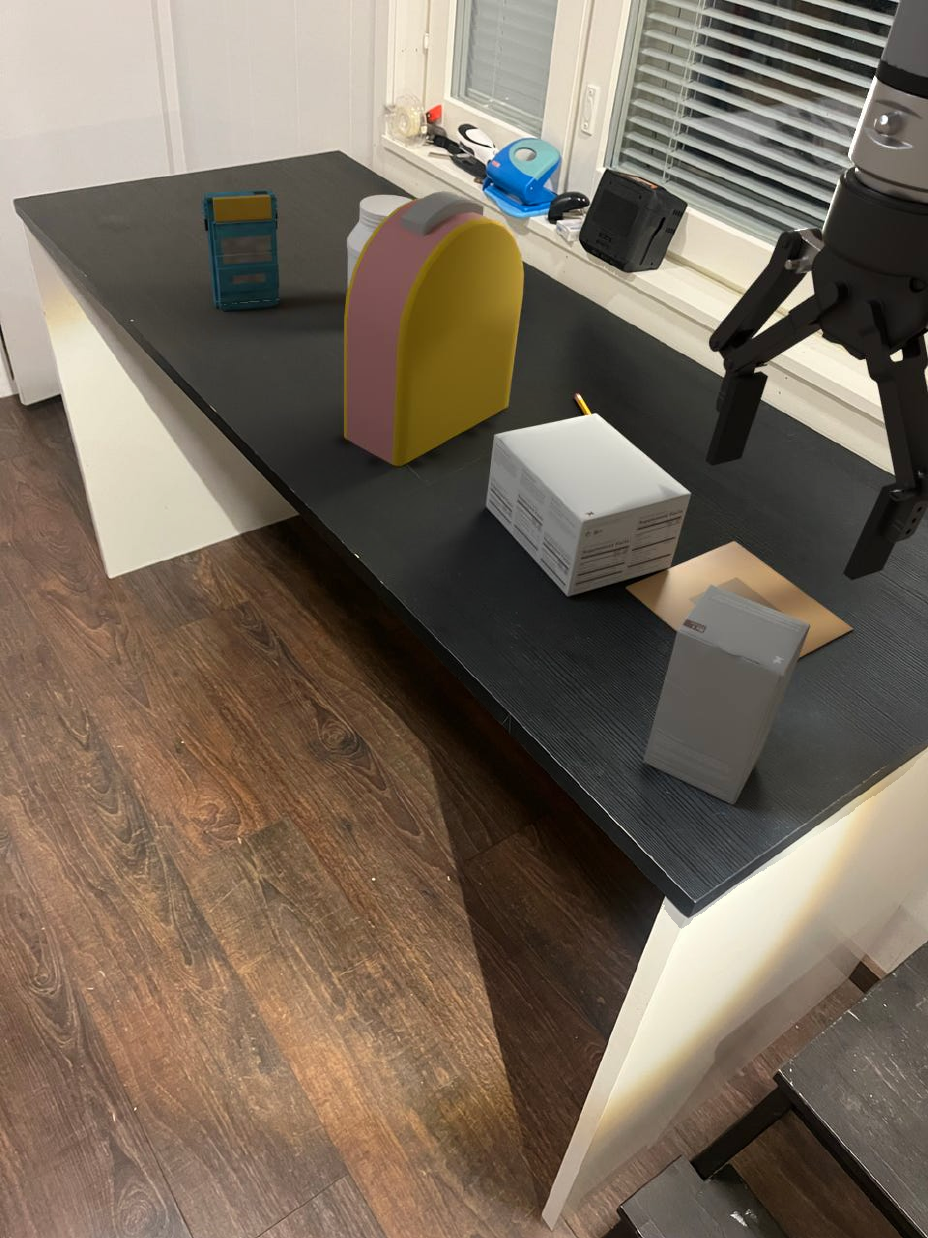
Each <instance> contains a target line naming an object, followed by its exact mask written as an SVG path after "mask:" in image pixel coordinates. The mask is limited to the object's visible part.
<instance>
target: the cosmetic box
mask: <svg viewBox="0 0 928 1238" xmlns="http://www.w3.org/2000/svg"><path fill="white" fill-rule="evenodd" d="M809 629H810V624H809V623H806V622H804V621H801V620H799V619H796V618H793V617H791V616H788V615H786V614H783V613H781V612H778V611H776V610H773V609H771V608H768V607H766V606H763V605H761V604H758V603H756V602H753V601H751V600H749V599H746V598H743V597H741V596H738V595H736V594H734V593H731V592H729V591H726V590H724V589H721V588H719V587H716V586H714V585H712V584H710V585H709V587H708V588H707V589H706V591H705V592H704V593H703V595H702V596H701V597H700V599H699V600H698V602H697V603H696V604H695V606H694V607H693V609H692V610H691V611H690V613H689V614H688V615H687V617H686V618H685V620H684V621H683V623H682V624H681V625H680V627H679V628H678V630H677V632H676V635H675V639H674V643H673V646H672V647H673V648H672V651H671V654H670V655H671V656H670V659H669V663H668V666H667V671H666V675H665V678H664V682H663V686H662V688H661V692H660V697H659V699H658V700H659V701H658V704H657V708H656V711H655V716H654V719H653V723H652V728H651V731H650V734H649V737H648V741H647V745H646V750H645V753H644V757H643V760H642V761H643V763H644V764H646V765H648V766H650V767H653V768H654V769H657V770H659V771H661V772H663V773H665V774H668V775H669V776H671V777H673V778H675V779H678V780H680V781H681V782H684V783H686V784H687V785H690V786H693V787H695V788H697V789H699V790H701V791H702V792H705V793H707V794H709V795H711V796H713V797H715V798H717V799H719V800H722V801H724V802H725V803H728V804H730V805H735V804H736V802H737V800H738V798H739V796H740V794H741V793H742V791H743V789H744V787H745V784H746V783H747V781H748V779H749V777H750V775H751V773H752V771H753V770H754V768H755V765H756V763H757V761H758V759H759V758H760V755H761V754H762V752H763V749H764V746H765V743H766V742H767V739H768V736H769V734H770V731H771V729H772V727H773V724H774V721H775V718H776V716H777V713H778V712H779V708H780V706H781V704H782V701H783V699H784V695H785V693H786V690H787V688H788V686H789V683H790V680H791V678H792V676H793V673H794V671H795V668H796V666H797V663H798V661H799V659H800V658H799V656H800V653H801V650H802V648H803V645H804V642H805V640H806V637H807V634H808V632H809ZM798 658H799V659H798Z"/></svg>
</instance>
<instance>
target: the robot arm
mask: <svg viewBox="0 0 928 1238" xmlns="http://www.w3.org/2000/svg"><path fill="white" fill-rule="evenodd" d="M848 158H849V160H850V161H851V163H852V165H853V166H851V167H850V168H848V169H846V171H844V172H843V173H842V174H840V176H839V179H838V182H837V185H836V188H835V190H834V193H833V196H832V200H831V202H830V206H829V209H828V212H827V215H826V218H825V221H824V223H823V226H822V230H821V229H820V228H818V227H809V228H803V229H794V230H787V231H783V232H782V233H780V235H779V236H778V239H777V242H776V243H775V247H774V249H773V251H772V254H771V257H770V259H769V261H768V264H767V265H766V266H764V269H763V270H762V271H761V272H760V274H759V275H758V276H757V277H756V278H755V280H754V281H753V282H752V284H751V285H750V286H749V287H748V288H747V290H746V291H745V292H744V293H743V295H742V296H741V297H740V298H739V300H737V303H736V304H735V305H734V306H733V308H732V309H731V310H730V311H729V312H728V314H727V315H725V317H724V318H723V320H722V321H721V323H719V324H718V326H717V328H716V329H715V330H714V331H713V332H712V333H711V335H710V337H709V338H708V347H709V349H710V351H711V352H713V353H719V355H720V356H721V357H722V359H723V363H722V364H723V365H722V366H723V369H724V371H725V372H724V376H723V379H722V382H721V385H720V390H719V393H718V396H717V399H716V402H715V411H716V412H717V413H719V414H718V416H717V421H716V424H715V426H714V427H715V428H714V430H713V434H712V438H711V440H710V444H709V448H708V449H707V450H708V451H707V454H706V457H705V462H707V464H709V465H710V466H711V467H713V466H718V465H721V464H725V463H730V462H733V461H737V460H741V459H742V457H743V454H744V452H745V449H746V445H747V442H748V439H749V436H750V433H751V431H752V427H753V425H754V421H755V418H756V415H757V412H758V409H759V406H760V403H761V400H762V397H763V394H764V390H765V388H766V385H767V382H768V379H769V375H767V374H766V373H764V372H763V371H762V370H760V371H756V369H758V368H764V367H767V366H768V362H770V361H772V360H773V359H775V358H776V357H778V356H780V355H782V354H783V353H785V352H786V351H788V350H789V349H791V348H793V347H794V346H796V345H797V344H799V343H801V342H803V341H804V340H806V339H807V338H809V337H811V336H813V334H816V333H817V332H819V331H821V332H822V335H821V338H822V339H824V340H826V341H827V342H828V343H831V344H836V345H839V346H842V347H843V348H844V350H846V352H847V353H848V354H849V356H851V357H853V358H854V359H856V360H858V361H864V360H865V363H866V368H867V374H868V376H869V378H870V379H871V381H873V382H874V383H876V386H877V392H878V396H879V400H880V406H881V411H882V416H883V421H884V422H883V423H884V425H885V426H884V427H885V431H886V436H887V442H888V447H889V453H890V457H891V463H892V468H893V473H894V478H895V482H893V483H890V484H887V485H882V487H881V489H880V491H879V494H878V495H877V497H876V500H875V503H873V506H872V508H871V511H870V513H869V516H868V518H867V520H866V522H865V524H864V526H863V528H862V531H861V533H860V534H859V537H858V539H857V542H856V544H855V545H854V548H853V550H852V552H851V555H850V557H849V559H848V562H847V564H846V566H845V567H844V569H843V571H842V574H843V575H844V576H846V577H847V579H849V580H850V581H855V580H858V579H860V578H863V577H866V576H869V575H872V574H875V573H878V572H881V571H883V569H884V568H885V565H886V563H887V562H888V560H889V557H890V556H891V553H892V551H893V549H894V548H895V545H896V544H897V543H899V542H901V541H904V540H908V539H910V538H911V537H912V536H913V535H914V534H915V533H916V531H917V530H918V528H919V525H920V523H921V522H922V519H923V517H924V516H925V513H926V511H927V510H928V384H927V377H926V369H927V368H928V350H927V349H928V348H927V344H926V339H925V338H926V337H925V335H926V334H927V333H928V0H899V2H898V5H897V8H896V12H895V14H894V17H893V21H892V23H891V26H890V29H889V33H888V36H887V39H886V41H885V44H884V48H883V51H882V53H881V57H880V59H879V61H878V64H877V67H876V70H875V74H874V77H873V80H872V83H871V85H870V88H869V92H868V93H867V98H866V101H865V103H864V106H863V109H862V112H861V115H860V118H859V120H858V123H857V127H856V131H855V133H854V135H853V139H852V142H851V145H850V148H849V151H848ZM810 272H811V273H810ZM808 273H810V275H811V281H812V288H813V294H812V295H811V296H809V297H807V298H806V299H805V300H803V301H801V302H800V303H798V304H797V305H795V306H794V307H792V308H791V309H790V310H789V311H788V312H787V315H785V316H784V317H782V318H780V319H779V320H778V321H776V322H775V323H773V324H772V325H770V326H768V327H767V328H765V329H764V330H763V331H761V332H760V333H758V332H759V331H760V330H761V328H762V327H763V326H765V324H766V323H767V321H769V319H770V318H771V317H772V316H773V314H774V313H775V312H776V311H777V310H778V309H779V308H780V306H781V305H783V303H784V302H785V301H786V300H787V299H788V298H789V296H790V295H791V294H792V293H793V291H794V290H796V288H797V287H798V286H799V284H800V283H801V282H802V281H803V280H804V278H805V277H806V276H807V274H808ZM757 333H758V334H757ZM756 334H757V335H756ZM899 351H901V355H902V358H901V360H893V359H892V357H891V356H892V355H894V354H896V353H898V352H899Z"/></svg>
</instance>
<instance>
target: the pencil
mask: <svg viewBox="0 0 928 1238" xmlns="http://www.w3.org/2000/svg"><path fill="white" fill-rule="evenodd" d="M573 397H574V399H575V401H576V403H577V404H578V406H579V408H580V409H581V411H582V412H583V415H584V416H585V415H590V414H592V412H591V411H590V410H589V408H588V406H587V405H586V403H585V401H584V400H583V398H582V396H581V395H580V393H575V394H574V395H573Z"/></svg>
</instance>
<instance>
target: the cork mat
mask: <svg viewBox="0 0 928 1238" xmlns="http://www.w3.org/2000/svg"><path fill="white" fill-rule="evenodd" d="M710 584H712V585H714V586H716V587H719V588H721V589H724V590H726V591H729V592H731V593H734V594H736V595H738V596H741V597H743V598H746V599H749V600H751V601H753V602H756V603H758V604H761V605H763V606H766V607H768V608H771V609H773V610H776V611H778V612H781V613H783V614H786V615H788V616H791V617H793V618H796V619H799V620H801V621H804V622H806V623H809V624H810V629H809V632H808V634H807V637H806V640H805V642H804V645H803V648H802V650H801V653H800V656H799V658H798V660H799V659H801V658H802V657H804V656H806V655H808V654H811V652H814V651H816V650H818V649H819V648H821V647H824V645H827V644H829V643H830V642H832V641H835V640H836V639H838V638H840V637H842V636H844V635H846V634H847V633H849V632H851V631H853V630H854V628H853V627H851V626H850V625H849V624H848V623H846V622H845V621H844V620H842V619H841V618H840V617H838V616H837V615H835V614H834V613H833V612H832V611H830V610H829V609H827V608H826V607H824V606H823V605H822V604H821V603H820V602H818V601H817V600H815V599H814V598H813V597H811V596H810V595H808V594H807V593H806V592H804V591H803V590H802V589H800V588H799V587H797V586H796V585H795V584H794V583H792V582H791V581H789V580H788V579H787V578H786V577H784V576H783V575H781V574H780V573H779V572H777V571H776V570H774V569H773V568H772V567H771V566H769V565H768V564H766V563H765V562H764V561H762V560H761V559H760V558H759V557H757V556H755V555H754V554H753V553H752V552H751V551H749V550H748V549H746V548H745V547H743V546H742V545H741V544H739V543H738V542H737V541H735V540H733V541H731V542H729V543H726V544H723V545H722V546H719V547H717V548H714V549H712V550H710V551H708V552H705V553H703V554H700V555H698V556H696V557H694V558H691V559H689V560H686V561H684V562H682V563H679V564H677V565H675V566H671V567H669V568H666V569H664V570H662V571H661V572H658V573H656V574H654V575H651V576H648V577H646V578H643V579H641V580H639V581H637V582H634V583H632V584H630V585H627V586H625V590H627V591H628V592H629V593H630V594H631V595H633V596H634V597H635V598H636V599H637V600H638V601H639V602H641V603H642V604H643V605H645V607H646V608H648V609H649V610H650V611H652V613H653V614H654V615H656V616H657V617H658V618H659V619H660V620H662V621H663V622H664V623H665V624H667V625H668V627H670V628H671V629H672V630H673V631H675V633H677V630H678V628H679V627H680V625H681V624H682V623H683V621H684V620H685V618H686V617H687V615H688V614H689V613H690V611H691V610H692V609H693V607H694V606H695V604H696V603H697V602H698V600H699V599H700V597H701V596H702V595H703V593H704V592H705V591H706V589H707V588H708V587H709V585H710Z"/></svg>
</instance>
